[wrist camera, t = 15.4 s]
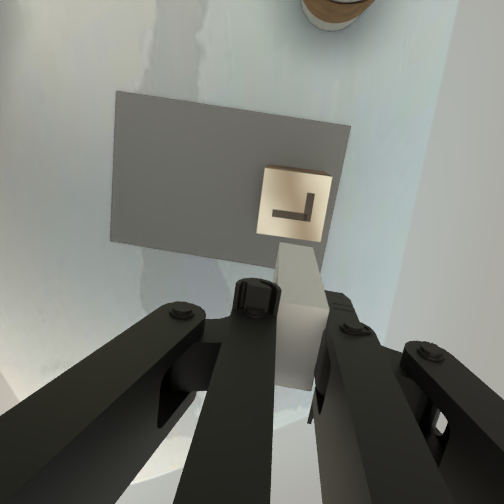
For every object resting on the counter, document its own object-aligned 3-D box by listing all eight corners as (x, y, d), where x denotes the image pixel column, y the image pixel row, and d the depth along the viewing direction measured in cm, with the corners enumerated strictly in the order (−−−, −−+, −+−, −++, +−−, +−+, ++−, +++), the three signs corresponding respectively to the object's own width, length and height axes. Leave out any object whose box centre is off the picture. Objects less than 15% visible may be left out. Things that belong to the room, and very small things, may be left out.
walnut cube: (320, 242, 35) (315, 228, 41) (332, 176, 33) (325, 171, 39) (256, 233, 35) (260, 220, 41) (264, 167, 34) (267, 163, 39)
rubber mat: (111, 240, 44) (109, 241, 43) (117, 91, 39) (116, 90, 39) (319, 274, 43) (319, 275, 42) (350, 126, 38) (350, 126, 38)
